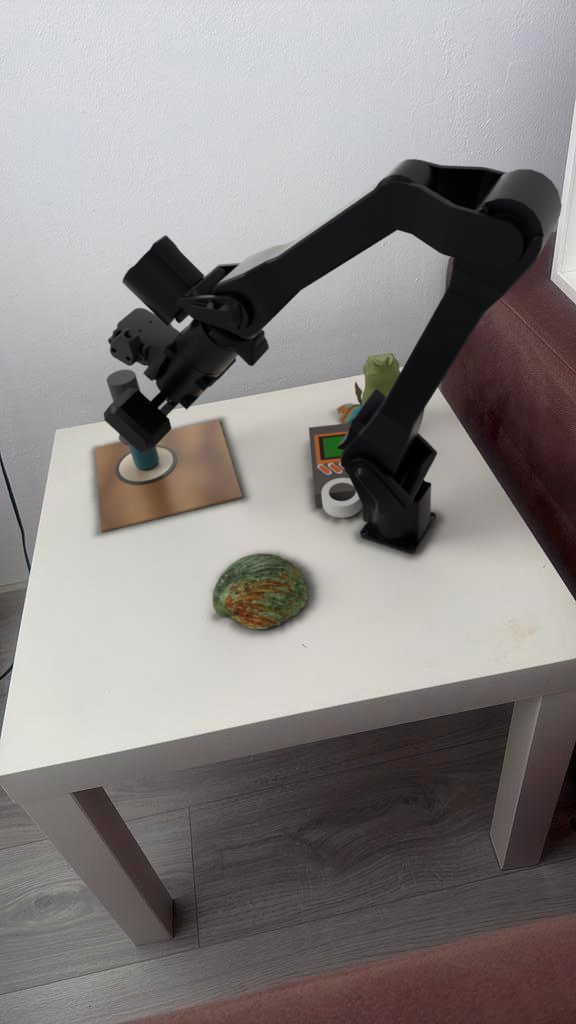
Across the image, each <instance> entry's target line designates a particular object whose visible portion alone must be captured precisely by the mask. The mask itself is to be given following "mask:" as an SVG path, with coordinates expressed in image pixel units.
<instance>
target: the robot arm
mask: <svg viewBox="0 0 576 1024" xmlns="http://www.w3.org/2000/svg"><path fill="white" fill-rule="evenodd" d="M562 206H563V204H562V202H561V197H560V192H559V190H558V188H557V187H556V185H555V184H554V182H553V180H551V179H550V178H549V177H548V176H547V175H545V174H544V173H542V172H540V171H537V170H534V169H531V168H530V169H529V168H527V169H526V168H525V169H523V168H522V169H521V168H518V169H515V170H511V171H509V172H506V171H502V170H498V169H494V168H491V167H485V166H473V165H472V166H471V165H470V166H469V165H467V166H466V165H448V164H447V165H445V164H439V163H434V162H431V161H426V160H423V159H417V158H408V159H405V160H402V161H400V162H398V163H397V164H396V165H395V166H394V167H393V168H392V169H391V170H390V171H389V172H388V173H387V174H386V175H385V176H384V177H382V178H381V179H380V180H379V181H377V182H376V183H374V184H373V185H371V186H370V187H368V188H367V189H365V190H364V191H363V192H361V193H359V195H357V196H355V197H354V198H353V199H351V200H350V201H348V202H347V203H345V204H344V205H343V206H341V207H340V208H338V209H337V210H335V211H334V212H332V213H331V214H330V215H329V216H327V217H326V218H324V219H323V220H321V221H320V222H318V223H317V224H316V225H314V226H312V228H310V229H308V230H307V231H305V232H304V233H303V234H301V235H300V236H298V237H297V238H295V239H293V240H291V241H289V242H287V243H284V244H277V245H273V246H270V247H268V248H265V249H263V250H261V251H259V252H256V253H253V254H251V255H249V256H248V257H246V258H245V259H243V261H241V262H233V263H232V262H231V263H219V264H217V265H216V266H215V267H214V268H213V269H212V270H211V271H209V272H208V273H206V275H205V274H204V273H202V271H201V270H200V269H199V268H198V267H197V266H196V265H194V263H193V262H192V261H191V260H190V259H188V257H186V255H185V254H184V253H183V252H182V251H181V250H180V248H178V246H177V244H176V243H175V242H174V241H173V240H172V239H171V238H170V237H169V236H168V235H166V234H165V235H163V236H161V237H160V238H158V239H157V240H156V241H154V242H153V243H152V245H151V247H150V248H149V249H148V250H147V251H146V252H145V253H144V254H143V255H142V256H141V257H140V259H139V260H138V261H137V262H136V263H135V264H133V266H131V267H130V268H129V269H128V270H127V271H126V273H125V274H124V276H123V277H122V282H121V283H122V284H123V285H124V286H125V287H126V288H127V289H128V290H129V291H130V292H132V294H133V295H134V296H135V297H137V299H138V300H140V301H141V303H143V304H144V305H145V306H146V307H147V308H148V309H146V308H143V307H137V308H134V309H133V310H132V311H130V312H129V313H128V314H127V315H126V316H124V317H123V318H122V319H120V320H119V321H118V322H117V324H116V328H115V329H114V330H112V335H111V336H110V337H108V339H107V342H108V344H109V345H110V346H109V352H110V353H109V354H110V355H111V356H112V358H114V359H116V360H118V361H119V362H121V363H123V364H124V365H126V366H128V367H132V366H133V365H134V364H136V363H138V364H140V365H142V366H146V367H147V368H145V370H144V371H143V373H142V374H143V375H144V376H145V377H146V378H147V379H148V380H149V381H151V382H153V381H155V386H156V387H157V389H158V391H159V392H158V393H157V394H156V395H155V396H154V397H153V398H152V399H151V400H150V399H149V398H148V397H147V396H146V395H145V394H144V393H143V392H142V391H141V390H140V391H141V392H140V391H139V390H137V389H131V388H128V389H127V390H126V391H125V392H124V393H123V394H121V395H120V396H119V397H118V398H117V399H116V400H115V401H114V402H113V401H112V403H110V404H109V406H108V407H107V408H106V410H105V411H104V412H103V420H104V422H106V423H107V425H109V426H110V427H111V428H112V429H113V430H114V431H116V432H117V433H118V441H119V442H122V443H123V444H124V445H132V446H133V447H134V448H135V449H136V450H137V451H139V452H140V453H141V454H148V453H149V452H150V451H151V450H152V449H153V448H154V447H155V446H156V445H157V444H158V443H159V442H160V441H161V440H162V438H163V437H164V436H165V435H166V434H167V433H168V432H169V431H170V430H173V427H172V425H171V424H172V423H171V421H170V418H169V417H168V415H169V414H171V412H172V411H173V410H174V409H175V408H177V406H178V405H179V404H180V405H181V407H183V408H184V409H185V411H188V409H189V408H190V407H191V406H192V405H193V404H194V403H195V402H196V401H197V400H198V399H199V397H200V396H202V395H203V393H205V391H206V390H207V389H208V388H210V387H212V386H213V385H214V384H215V383H216V382H217V381H219V380H220V379H221V378H222V377H223V376H224V374H226V372H227V371H228V370H229V369H230V368H231V367H233V365H234V364H235V363H236V362H237V359H236V358H237V357H240V358H241V360H242V361H244V362H245V364H247V365H248V366H249V367H253V366H255V365H256V363H258V361H259V360H260V359H261V358H262V357H264V355H265V354H266V352H267V351H268V350H269V349H270V346H269V343H268V339H267V338H266V337H265V335H266V331H265V330H264V328H265V327H266V326H267V325H268V324H269V323H270V322H271V321H272V320H273V319H274V318H275V317H276V316H277V315H278V314H279V313H280V312H281V311H283V309H284V308H285V307H286V306H287V305H288V304H289V303H290V302H291V301H292V300H293V299H294V298H295V297H296V296H297V295H298V294H299V293H300V292H301V291H302V290H304V289H306V288H307V287H309V286H310V285H312V284H314V283H315V282H317V281H319V280H320V279H322V278H323V277H325V276H326V275H328V274H330V273H331V272H332V271H334V270H336V269H337V268H340V267H341V266H343V265H344V264H345V263H347V262H350V260H352V259H354V258H355V257H357V256H358V255H360V254H361V253H363V252H365V251H367V250H368V249H370V248H371V247H373V246H374V245H376V244H378V243H379V242H381V241H382V240H384V239H385V238H387V237H389V236H391V235H392V234H394V233H395V232H397V231H400V232H403V233H406V234H410V235H412V236H413V237H415V238H416V239H418V240H420V242H423V243H424V244H426V245H427V246H428V247H430V248H431V249H433V250H435V251H436V252H438V254H440V255H443V256H446V257H450V258H453V259H452V263H451V266H450V267H451V268H450V272H449V278H448V283H447V286H446V290H445V292H444V294H443V296H442V298H441V299H440V301H439V302H438V304H437V306H436V308H435V310H434V311H433V314H432V316H431V317H430V318H429V320H428V323H427V324H426V326H425V328H424V329H423V331H422V333H421V335H420V337H419V338H418V340H417V342H416V344H415V346H414V348H413V349H412V351H411V353H410V355H409V357H408V358H407V360H406V362H405V364H404V366H403V367H402V369H401V370H400V374H399V376H398V378H397V380H396V382H395V383H394V385H393V387H392V389H391V390H390V392H389V393H388V394H386V395H384V394H383V393H381V392H380V391H379V390H377V389H376V388H374V389H373V391H372V392H371V394H370V395H369V397H368V398H367V400H366V401H365V402H364V404H363V405H362V407H361V408H360V410H359V411H358V413H357V414H356V416H355V417H354V419H353V420H352V423H351V425H350V428H349V431H348V432H347V434H346V435H345V437H344V438H343V439H342V441H341V442H340V444H339V445H338V449H342V450H344V451H343V452H342V454H341V458H340V464H341V466H342V467H344V470H345V472H346V473H347V474H348V475H349V477H350V480H351V482H352V484H353V486H354V488H355V490H356V492H357V494H358V496H359V498H360V501H361V503H362V508H361V510H362V520H363V522H365V524H364V525H363V527H362V528H361V530H360V531H359V536H360V538H362V539H364V540H367V541H370V542H373V543H377V544H379V545H383V546H385V547H388V548H391V549H394V550H396V551H397V550H398V551H400V552H403V553H407V554H410V555H412V554H415V553H416V552H417V551H418V549H419V547H420V545H421V544H422V542H423V541H424V540H425V537H426V536H427V535H428V533H429V531H430V530H431V529H432V527H433V525H434V524H435V522H436V521H437V514H436V512H433V511H431V510H432V483H431V482H429V481H426V480H425V478H426V476H427V474H428V472H429V470H430V468H431V467H432V466H433V463H434V461H435V459H436V457H437V455H438V451H437V450H436V449H435V448H434V447H433V446H432V445H431V444H430V443H429V442H428V441H427V440H426V439H425V438H424V437H423V436H422V435H421V434H420V433H419V431H420V428H421V426H422V423H423V418H424V414H425V410H426V409H425V408H426V407H427V405H428V404H429V402H430V400H431V399H432V397H433V396H434V394H435V392H436V391H437V389H438V388H439V386H440V385H441V383H442V381H443V380H444V378H445V377H446V375H447V373H448V372H449V370H450V369H451V367H452V365H453V364H454V363H455V361H456V359H457V357H458V356H459V355H460V353H461V351H462V350H463V348H464V346H465V345H466V343H467V341H468V340H469V338H470V337H471V335H472V334H473V332H474V330H476V328H477V326H478V324H479V323H480V321H481V319H482V318H483V316H484V315H485V313H486V312H487V311H488V310H489V309H490V308H492V306H494V305H495V304H496V303H497V302H498V301H499V300H501V299H502V298H503V297H504V296H505V295H506V294H507V293H508V292H509V291H510V290H511V289H512V287H514V286H515V285H516V283H518V281H519V280H520V279H521V278H522V277H523V276H524V275H525V274H526V273H527V272H528V271H529V270H530V268H532V267H533V265H534V264H535V263H536V261H537V260H538V258H539V256H540V255H541V252H542V251H543V249H544V247H545V245H546V243H547V242H548V240H549V238H550V236H551V234H552V232H553V231H554V228H555V227H556V225H557V223H558V220H559V218H560V216H561V212H562V208H563V207H562ZM188 317H190V318H191V319H192V320H191V322H189V324H188V325H187V326H185V327H184V328H183V329H182V330H181V331H180V330H178V329H177V328H175V327H173V325H172V323H173V322H174V321H176V323H178V324H181V323H183V321H184V320H186V319H187V318H188ZM165 402H166V403H165ZM164 403H165V404H164ZM162 405H163V406H162ZM160 407H161V408H160Z"/></svg>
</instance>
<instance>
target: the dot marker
mask: <svg viewBox="0 0 576 1024" xmlns="http://www.w3.org/2000/svg"><path fill="white" fill-rule="evenodd" d="M106 383H107V387H108V389H109V393H110V395H111V399H112V403H113V402H114V401H115V400H116V399H117V398H118V397H119V396H120V395H121V394H123V393H124V392H125V391H126V390H127V389H128V388H131V389H137V390H139V391H140V392H141V393H142V391H141V389H140V385H139V382H138V379H137V374H136V372H135V371H133V370H132V369H119V370H116V371H114V372H112V373H110V374H109V375H108V376H107V377H106ZM128 446H129V449H130V452H131V455H132V458H133V461H134V464H135V466H136V467H137V468H138V469H139V470H142V471H148V470H152V469H154V468H155V467H156V466H157V465H158V462H159V456H158V452H157V449H156V446H155V447H154V448H153V449H152V450H151V451H150V452H149V453H148V454H141V453H140V452H139V451H137V450H136V449H135V448H134V447H133V446H132V445H128Z"/></svg>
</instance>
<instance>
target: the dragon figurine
mask: <svg viewBox="0 0 576 1024" xmlns="http://www.w3.org/2000/svg"><path fill="white" fill-rule="evenodd" d="M354 392H355V396H356V399H357V401H358V403H350V402H349V403H344V404H342V405H340V406H339V407H337V408H336V411H337V415H340V414H341V424H346V423H352V420H353V419H354V417H355V416H356V414H357V413H358V411H359V410H360V408H361V407H362V395H363V390H362V388H360V387H359V385H358V383H357V381H355V382H354Z"/></svg>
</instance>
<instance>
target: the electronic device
mask: <svg viewBox="0 0 576 1024" xmlns="http://www.w3.org/2000/svg"><path fill="white" fill-rule="evenodd" d="M350 425H351V423H346V424H342V423H337V424H328V425H319V426H309V427H308V436H309V437H308V438H309V446H310V448H309V449H310V457H311V467H312V468H311V469H312V480H313V493H314V502H315V508H316V509H320V508H322V509H323V510H324V512H325V513H326V514H328V515H329V516H331V517H334V518H338V519H339V518H341V519H342V518H350V517H353V516H354V515H356V514H359V512H360V511H361V510H362V503H361V501H360V498H359V496H358V494H357V492H356V490H355V488H354V486H353V484H352V482H351V480H350V477H349V475H348V474H347V473H346V472H345V470H344V467H342V466H341V464H340V458H341V454H342V452H343V451H344V450H342V449H338V445H339V444H340V442H341V441H342V439H343V438H344V437H345V435H346V434H347V432H348V431H349V428H350Z"/></svg>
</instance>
